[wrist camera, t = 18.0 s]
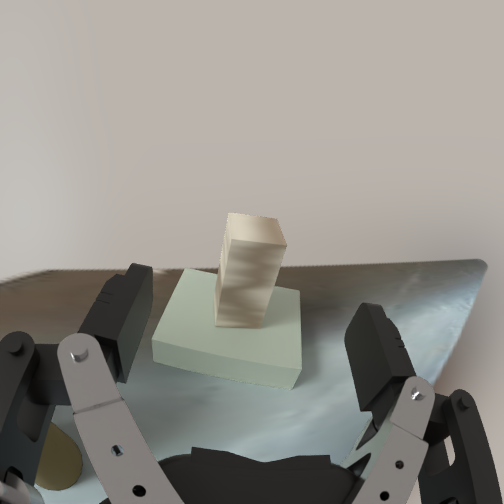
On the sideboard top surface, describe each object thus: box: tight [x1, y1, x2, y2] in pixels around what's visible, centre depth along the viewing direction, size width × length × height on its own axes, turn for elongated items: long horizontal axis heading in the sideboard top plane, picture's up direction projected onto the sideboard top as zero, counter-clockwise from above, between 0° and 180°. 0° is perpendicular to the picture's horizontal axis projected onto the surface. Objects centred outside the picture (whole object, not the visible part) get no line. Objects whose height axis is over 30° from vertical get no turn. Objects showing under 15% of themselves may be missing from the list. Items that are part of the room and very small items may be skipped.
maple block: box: [214, 213, 287, 329], centre depth 29 cm, size 4×4×10 cm
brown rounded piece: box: [35, 422, 83, 491], centre depth 13 cm, size 6×6×11 cm
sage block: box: [152, 268, 302, 390], centre depth 32 cm, size 14×12×4 cm
